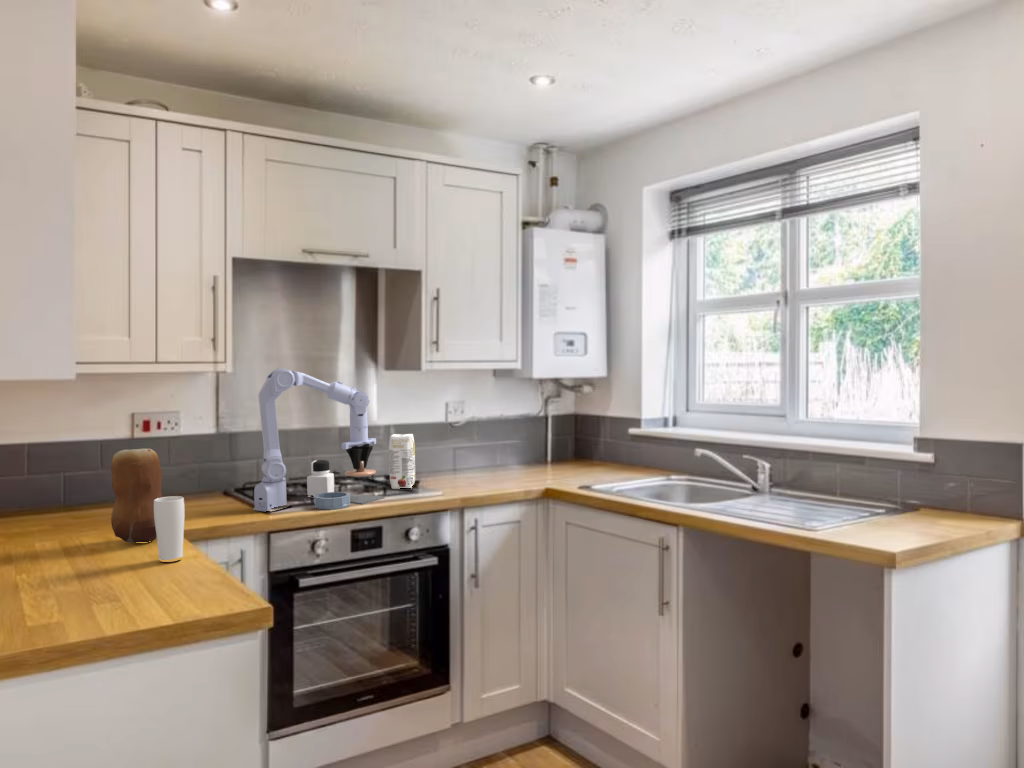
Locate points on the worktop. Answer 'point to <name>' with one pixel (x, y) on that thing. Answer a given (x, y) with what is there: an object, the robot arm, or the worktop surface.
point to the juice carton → (402, 461)
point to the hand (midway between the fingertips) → (359, 468)
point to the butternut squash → (135, 494)
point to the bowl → (332, 500)
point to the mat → (364, 498)
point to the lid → (360, 471)
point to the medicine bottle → (320, 478)
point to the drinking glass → (169, 526)
